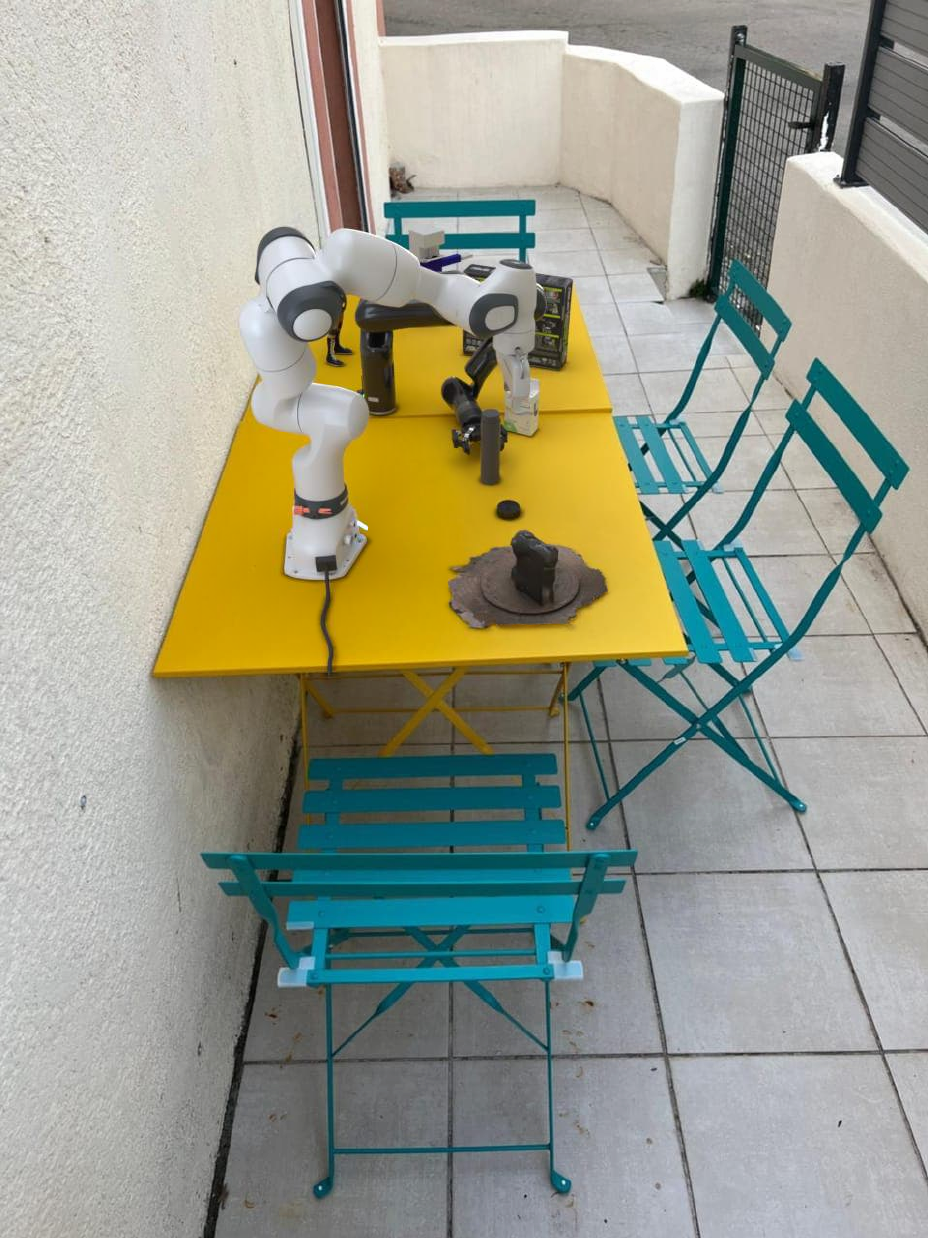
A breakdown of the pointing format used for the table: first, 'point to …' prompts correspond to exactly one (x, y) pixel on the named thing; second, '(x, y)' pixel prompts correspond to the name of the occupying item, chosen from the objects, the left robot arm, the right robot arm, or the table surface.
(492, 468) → the dark grey cylinder
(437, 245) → the toy
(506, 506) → the lid
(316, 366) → the left robot arm
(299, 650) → the table surface
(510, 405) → the ink box
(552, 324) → the box
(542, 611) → the sculpture
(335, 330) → the figurine
